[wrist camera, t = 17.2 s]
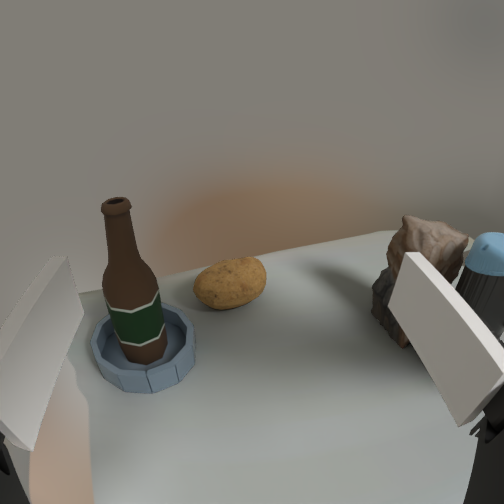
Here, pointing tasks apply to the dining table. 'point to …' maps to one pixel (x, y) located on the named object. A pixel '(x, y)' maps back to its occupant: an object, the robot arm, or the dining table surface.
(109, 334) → the bowl
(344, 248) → the dining table surface
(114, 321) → the beer bottle
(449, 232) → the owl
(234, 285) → the potato
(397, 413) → the dining table surface
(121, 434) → the dining table surface
